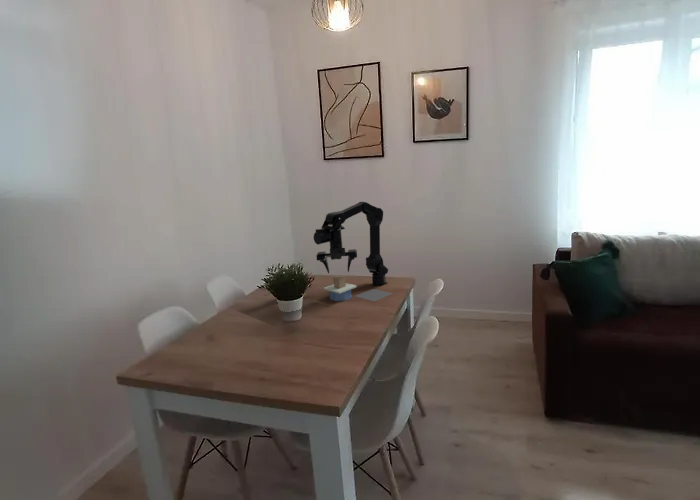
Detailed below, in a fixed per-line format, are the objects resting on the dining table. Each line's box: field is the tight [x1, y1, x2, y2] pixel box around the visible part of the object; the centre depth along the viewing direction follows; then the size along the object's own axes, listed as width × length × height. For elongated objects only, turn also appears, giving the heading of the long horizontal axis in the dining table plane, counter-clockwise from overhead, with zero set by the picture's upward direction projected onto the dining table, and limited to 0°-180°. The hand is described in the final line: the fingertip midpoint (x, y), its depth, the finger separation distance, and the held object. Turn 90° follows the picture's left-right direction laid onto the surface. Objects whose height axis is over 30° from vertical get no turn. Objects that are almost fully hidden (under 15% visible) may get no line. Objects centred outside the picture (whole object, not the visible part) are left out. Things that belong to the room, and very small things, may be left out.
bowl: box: [329, 289, 352, 302], centre depth 218 cm, size 10×10×5 cm
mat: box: [354, 288, 393, 302], centre depth 218 cm, size 13×13×1 cm
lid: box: [323, 274, 357, 294], centre depth 216 cm, size 11×11×6 cm
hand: (338, 272), depth 215 cm, fingers open, 9 cm apart
